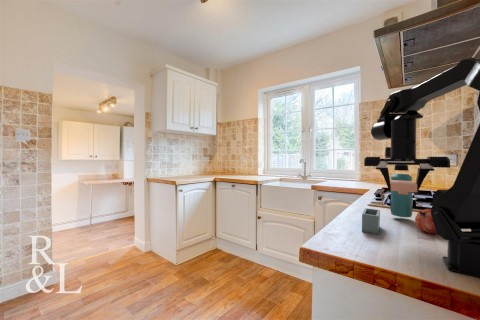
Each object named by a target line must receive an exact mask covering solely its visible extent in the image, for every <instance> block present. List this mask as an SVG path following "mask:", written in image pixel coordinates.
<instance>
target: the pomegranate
mask: <svg viewBox="0 0 480 320" xmlns="http://www.w3.org/2000/svg"><path fill="white" fill-rule="evenodd" d="M414 221H415V225H416V226H417V228H418V229H419V230H422V232H426V233H428V234H431V235H437V233H436V230H435V226H434V223H433V219H432V215H431V208H425V209H423V210H419V211H418V212H417V214H416V215H415V218H414Z"/></svg>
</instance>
